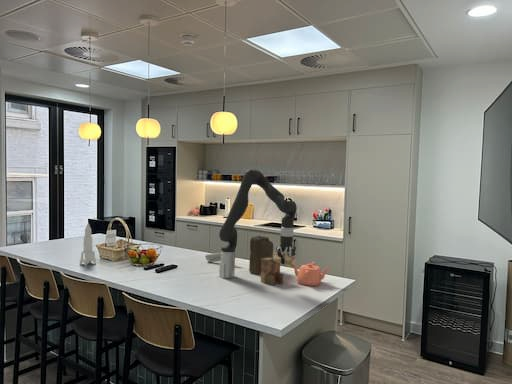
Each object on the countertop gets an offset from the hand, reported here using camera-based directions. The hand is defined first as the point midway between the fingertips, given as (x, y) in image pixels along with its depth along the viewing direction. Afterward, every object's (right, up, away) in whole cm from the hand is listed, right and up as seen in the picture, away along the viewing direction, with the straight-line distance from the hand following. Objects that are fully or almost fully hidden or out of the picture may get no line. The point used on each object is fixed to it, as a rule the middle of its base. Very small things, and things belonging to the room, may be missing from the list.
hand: (285, 263), depth 219 cm
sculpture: (-138, -10, +48) cm, 146 cm away
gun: (-44, -12, +61) cm, 77 cm away
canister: (-14, -14, +43) cm, 47 cm away
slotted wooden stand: (-7, -15, +18) cm, 25 cm away
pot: (+17, -16, +21) cm, 31 cm away
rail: (-1, 0, +2) cm, 2 cm away
